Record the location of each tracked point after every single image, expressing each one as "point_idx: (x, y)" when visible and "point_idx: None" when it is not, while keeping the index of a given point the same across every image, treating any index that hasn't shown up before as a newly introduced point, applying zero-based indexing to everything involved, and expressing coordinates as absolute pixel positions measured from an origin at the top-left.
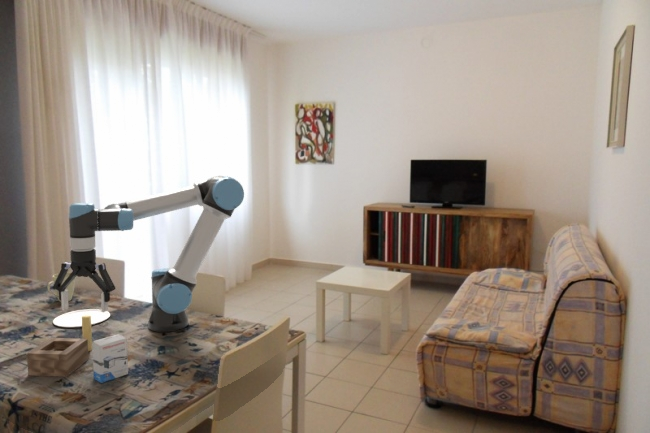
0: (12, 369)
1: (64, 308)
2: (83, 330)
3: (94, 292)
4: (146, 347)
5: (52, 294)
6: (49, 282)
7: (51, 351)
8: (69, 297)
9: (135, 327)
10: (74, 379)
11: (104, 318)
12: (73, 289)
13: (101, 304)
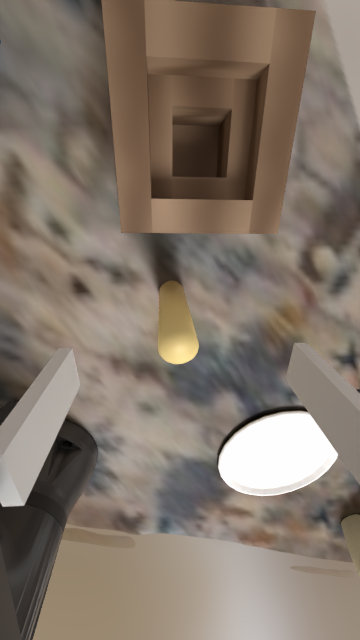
0: (337, 127)
1: (298, 354)
2: (180, 305)
3: (307, 553)
4: (6, 323)
5: None
6: None
7: (202, 47)
8: (347, 528)
9: (124, 431)
10: (76, 34)
11: (228, 462)
12: (351, 554)
13: (50, 378)
